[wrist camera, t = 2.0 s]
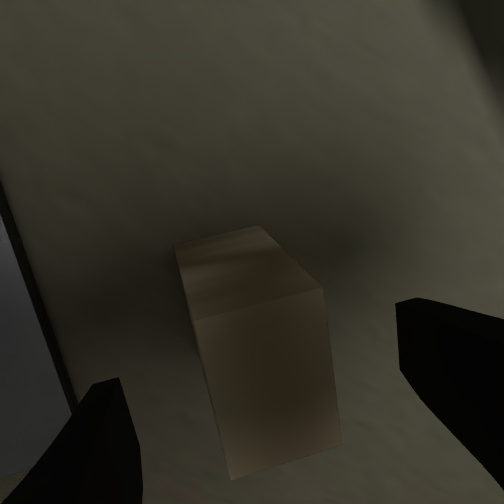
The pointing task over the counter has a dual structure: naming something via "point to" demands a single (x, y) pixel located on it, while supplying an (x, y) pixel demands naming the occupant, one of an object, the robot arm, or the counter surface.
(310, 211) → the counter surface
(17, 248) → the black tray
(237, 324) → the cardboard box
